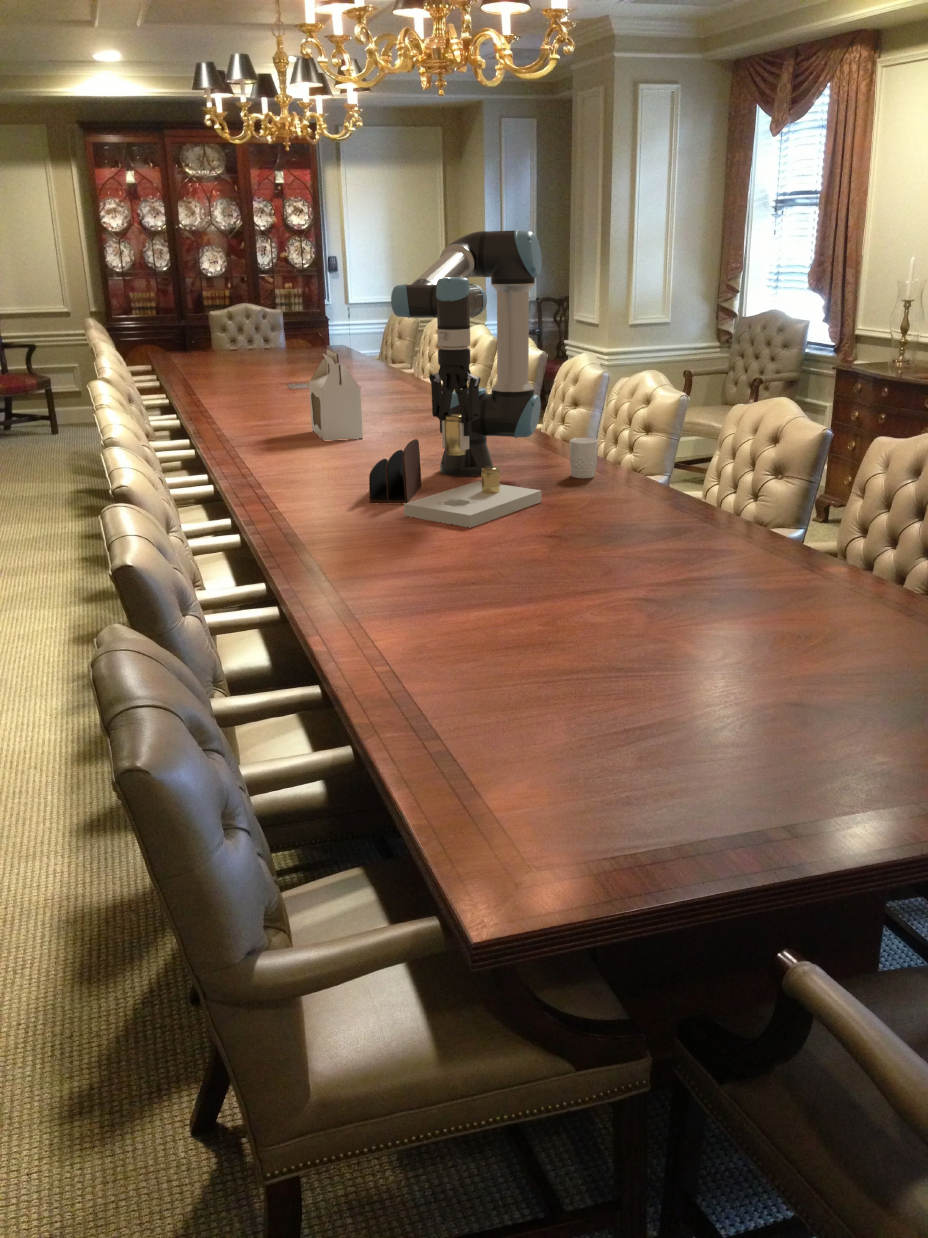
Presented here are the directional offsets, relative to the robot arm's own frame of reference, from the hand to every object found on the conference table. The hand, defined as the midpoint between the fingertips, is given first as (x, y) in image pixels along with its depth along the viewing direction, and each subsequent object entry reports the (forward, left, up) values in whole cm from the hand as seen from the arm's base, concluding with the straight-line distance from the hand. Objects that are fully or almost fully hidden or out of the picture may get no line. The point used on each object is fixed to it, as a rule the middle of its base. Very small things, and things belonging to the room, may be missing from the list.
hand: (455, 448), depth 252 cm
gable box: (-101, +64, -17) cm, 121 cm away
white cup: (+3, +54, -16) cm, 57 cm away
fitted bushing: (0, +14, -16) cm, 21 cm away
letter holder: (-26, +8, -17) cm, 32 cm away
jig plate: (0, +7, -16) cm, 18 cm away
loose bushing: (0, 0, -1) cm, 1 cm away
